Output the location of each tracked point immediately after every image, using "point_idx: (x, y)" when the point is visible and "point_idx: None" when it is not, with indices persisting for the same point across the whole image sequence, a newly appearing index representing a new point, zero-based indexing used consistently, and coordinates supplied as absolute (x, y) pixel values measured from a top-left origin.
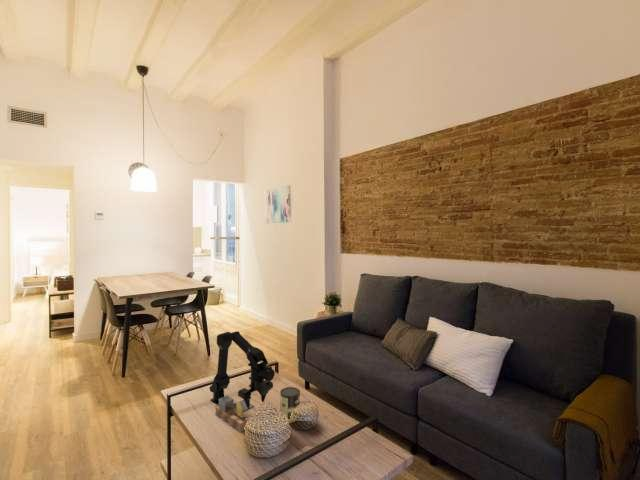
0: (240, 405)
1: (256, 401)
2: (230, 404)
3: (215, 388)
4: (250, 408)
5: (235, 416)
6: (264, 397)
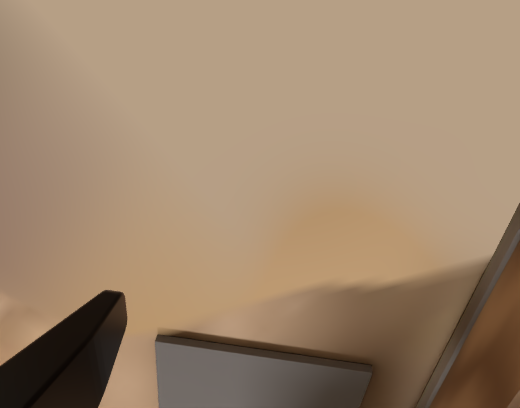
0: None
1: None
2: None
3: None
4: (212, 342)
5: None
6: (28, 379)
